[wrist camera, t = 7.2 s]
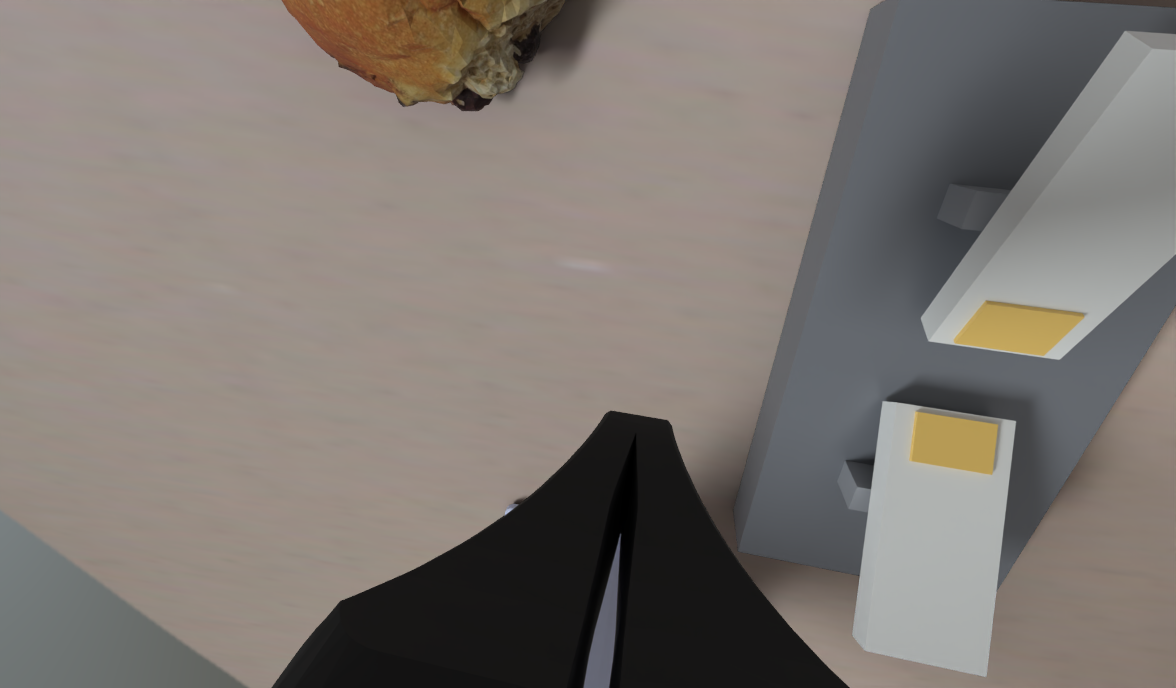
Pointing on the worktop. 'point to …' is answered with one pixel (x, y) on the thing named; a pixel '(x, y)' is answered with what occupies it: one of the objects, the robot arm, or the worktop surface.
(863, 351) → the switch unit
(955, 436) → the rocker
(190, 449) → the worktop surface
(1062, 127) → the rocker
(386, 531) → the worktop surface
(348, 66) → the bread roll
